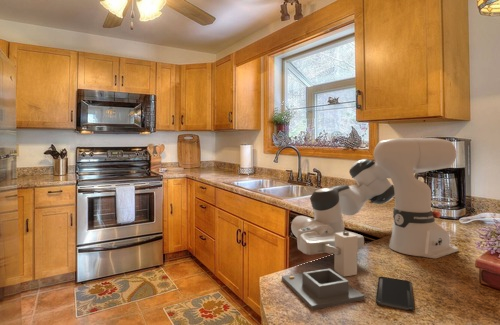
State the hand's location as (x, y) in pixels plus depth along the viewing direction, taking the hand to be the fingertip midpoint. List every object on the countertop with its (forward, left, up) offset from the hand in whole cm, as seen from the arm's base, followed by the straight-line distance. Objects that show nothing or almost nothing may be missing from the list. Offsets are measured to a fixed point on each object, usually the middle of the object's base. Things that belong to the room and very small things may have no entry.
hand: (347, 250), depth 83 cm
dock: (+12, +5, -7) cm, 15 cm away
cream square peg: (0, -1, -7) cm, 7 cm away
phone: (-4, +13, -7) cm, 16 cm away
